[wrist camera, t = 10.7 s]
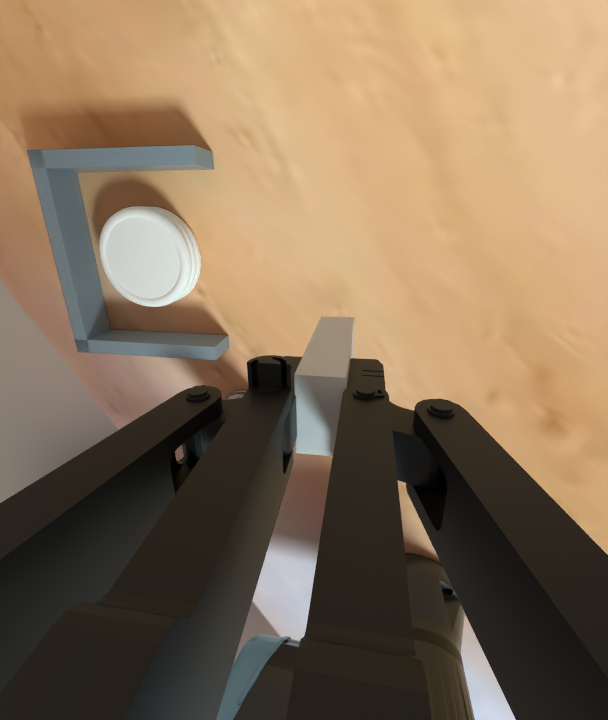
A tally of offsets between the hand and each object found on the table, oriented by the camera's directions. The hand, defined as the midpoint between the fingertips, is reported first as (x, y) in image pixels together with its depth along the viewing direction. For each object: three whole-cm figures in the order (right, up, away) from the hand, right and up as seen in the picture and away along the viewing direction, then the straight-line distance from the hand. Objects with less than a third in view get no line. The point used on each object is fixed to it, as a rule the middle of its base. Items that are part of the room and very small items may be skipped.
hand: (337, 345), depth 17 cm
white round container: (-17, +11, +24) cm, 31 cm away
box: (-18, +10, +23) cm, 31 cm away
